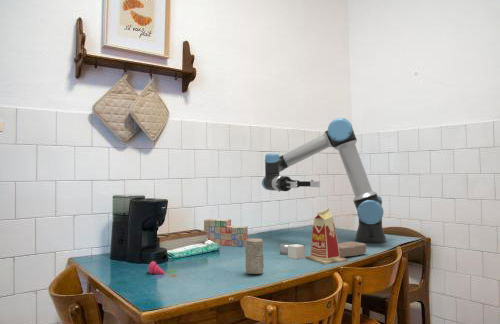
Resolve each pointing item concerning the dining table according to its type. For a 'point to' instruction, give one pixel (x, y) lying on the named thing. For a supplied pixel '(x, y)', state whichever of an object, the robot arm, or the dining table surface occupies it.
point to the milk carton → (324, 237)
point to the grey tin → (284, 249)
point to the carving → (254, 256)
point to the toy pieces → (159, 270)
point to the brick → (351, 249)
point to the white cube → (296, 251)
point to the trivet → (327, 260)
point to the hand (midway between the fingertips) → (307, 184)
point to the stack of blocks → (226, 232)
